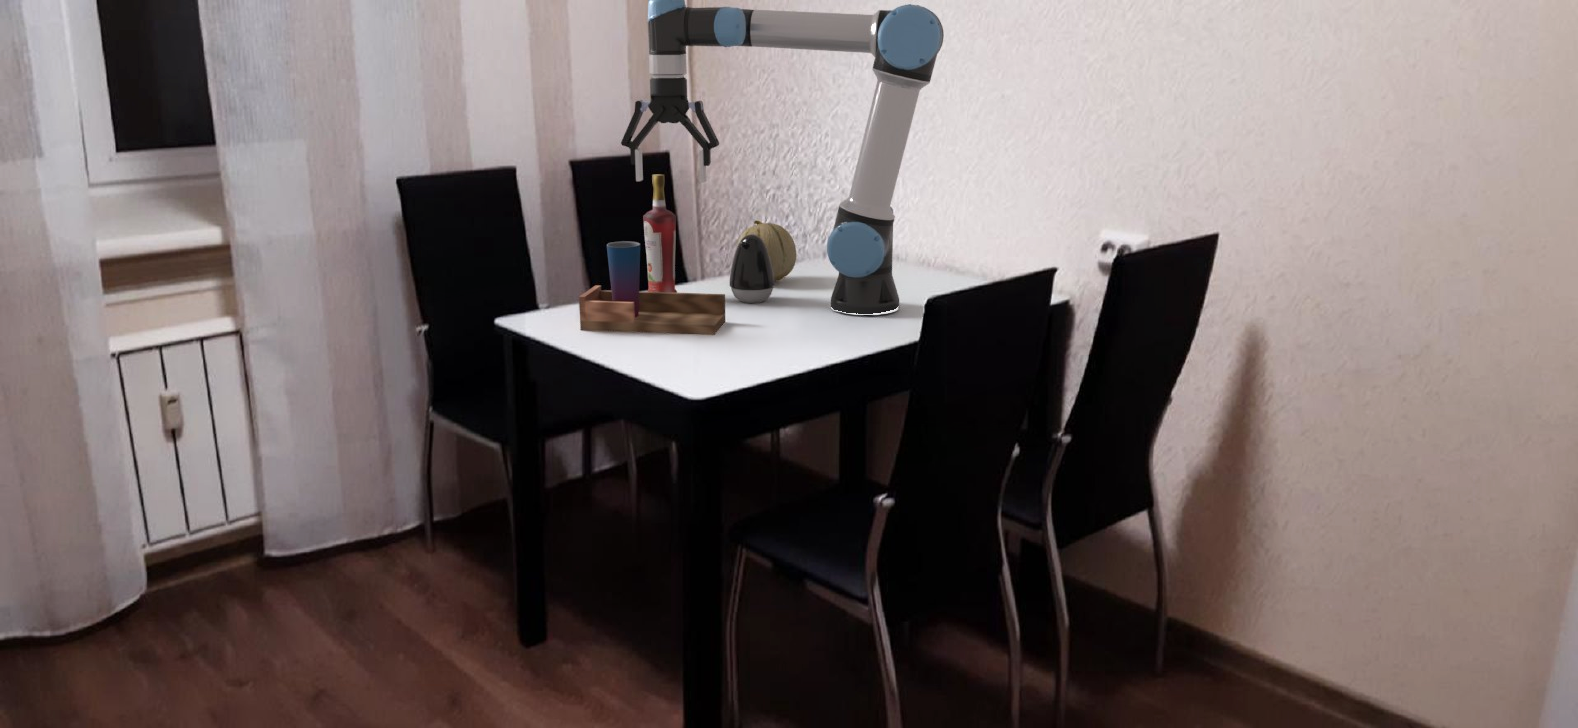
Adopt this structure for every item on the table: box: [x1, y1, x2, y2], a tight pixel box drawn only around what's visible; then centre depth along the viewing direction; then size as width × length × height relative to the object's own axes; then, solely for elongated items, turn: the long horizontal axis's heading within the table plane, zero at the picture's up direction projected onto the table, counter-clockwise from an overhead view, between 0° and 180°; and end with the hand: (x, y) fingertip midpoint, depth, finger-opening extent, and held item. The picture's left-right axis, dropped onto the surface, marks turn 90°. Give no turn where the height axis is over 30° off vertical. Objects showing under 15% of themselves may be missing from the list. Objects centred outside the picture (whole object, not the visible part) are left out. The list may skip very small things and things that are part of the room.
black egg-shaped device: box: [729, 234, 775, 304], centre depth 260 cm, size 10×10×15 cm
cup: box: [606, 240, 641, 317], centre depth 238 cm, size 7×7×15 cm
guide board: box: [578, 284, 726, 336], centre depth 239 cm, size 28×11×7 cm, turn 82°
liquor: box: [642, 173, 678, 293], centre depth 261 cm, size 7×7×28 cm
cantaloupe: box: [736, 220, 797, 283], centre depth 279 cm, size 15×15×15 cm
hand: (671, 181), depth 241 cm, fingers open, 13 cm apart
